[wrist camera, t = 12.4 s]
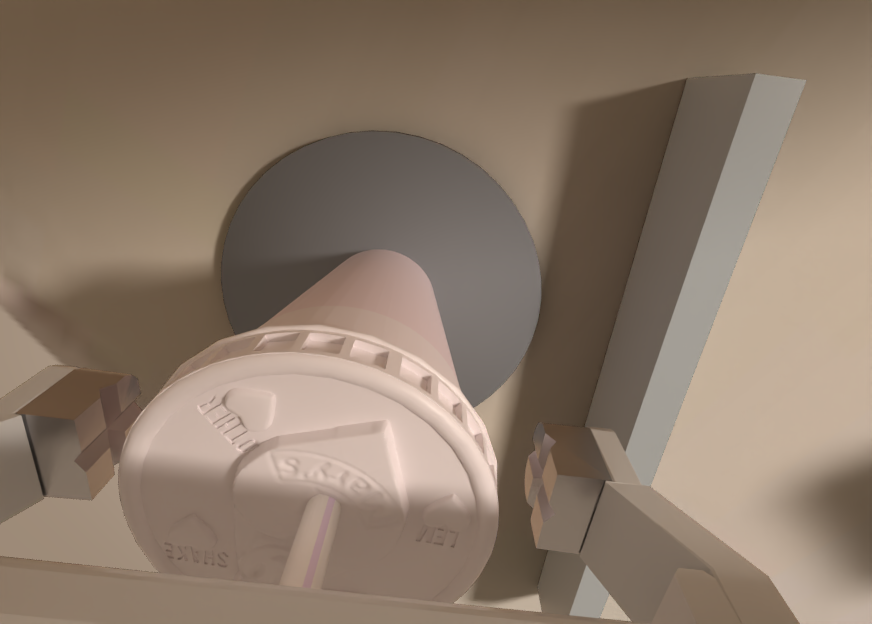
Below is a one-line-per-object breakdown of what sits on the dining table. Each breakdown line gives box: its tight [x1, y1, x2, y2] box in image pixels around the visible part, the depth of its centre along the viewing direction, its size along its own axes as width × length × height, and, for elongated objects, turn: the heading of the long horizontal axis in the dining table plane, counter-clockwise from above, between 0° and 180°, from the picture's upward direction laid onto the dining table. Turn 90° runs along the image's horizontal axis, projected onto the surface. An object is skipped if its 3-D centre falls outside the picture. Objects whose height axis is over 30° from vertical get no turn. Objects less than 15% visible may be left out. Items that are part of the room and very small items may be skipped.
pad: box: [221, 131, 541, 408], centre depth 17 cm, size 11×11×1 cm
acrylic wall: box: [537, 73, 807, 618], centre depth 17 cm, size 22×1×4 cm, turn 173°
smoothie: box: [118, 249, 499, 603], centre depth 11 cm, size 6×6×14 cm
